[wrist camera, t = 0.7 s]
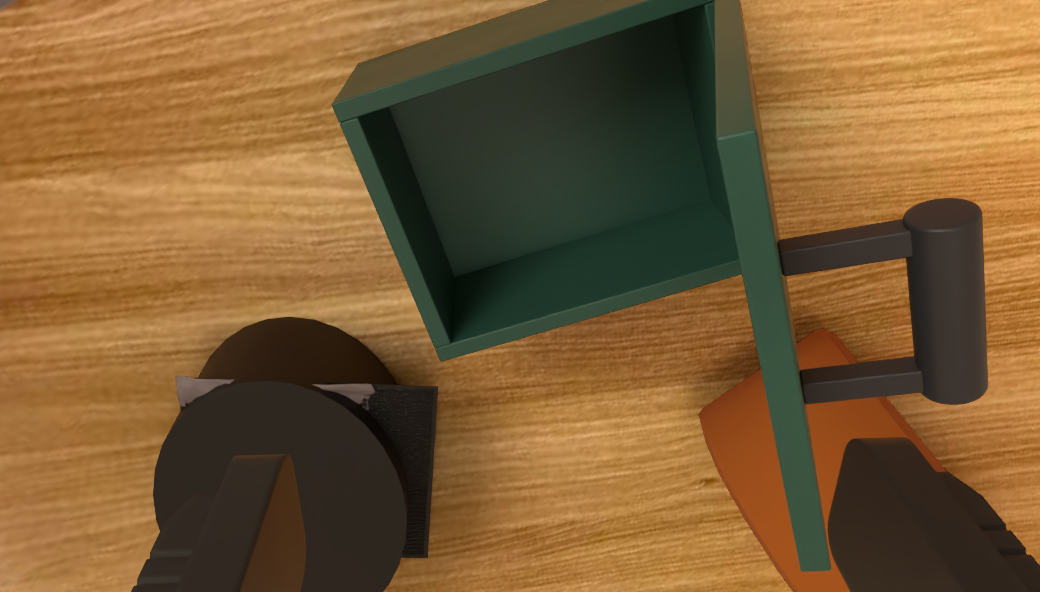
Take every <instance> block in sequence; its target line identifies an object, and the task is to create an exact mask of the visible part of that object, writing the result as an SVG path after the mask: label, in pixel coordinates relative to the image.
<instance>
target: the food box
mask: <svg viewBox="0 0 1040 592" xmlns="http://www.w3.org/2000/svg"><path fill="white" fill-rule="evenodd" d="M332 107H333V109H334V112H335V114H336V116H337V119H338V121H339V122H341V123H340V126H341V128H342V130H343V133H344V135H345V137H346V140H347V142H348V144H349V147H350V149H351V152H352V154H353V156H354V159H355V161H356V163H357V166H358V168H359V170H360V173H361V175H362V178H363V180H364V182H365V185H366V187H367V189H368V192H369V194H370V196H371V199H372V201H373V203H374V206H375V208H376V211H377V213H378V215H379V218H380V220H381V222H382V225H383V227H384V229H385V232H386V234H387V237H388V239H389V241H390V244H391V246H392V248H393V251H394V253H395V255H396V258H397V260H398V262H399V265H400V267H401V270H402V272H403V274H404V277H405V279H406V281H407V284H408V286H409V288H410V291H411V293H412V296H413V298H414V300H415V303H416V305H417V307H418V310H419V312H420V314H421V317H422V319H423V321H424V324H425V326H426V329H427V331H428V333H429V336H430V338H431V340H432V343H433V345H434V347H435V350H436V352H437V354H438V357H439V359H440V361H445V360H449V359H452V358H456V357H459V356H463V355H466V354H469V353H473V352H476V351H480V350H483V349H487V348H490V347H493V346H497V345H500V344H504V343H507V342H511V341H514V340H518V339H521V338H524V337H528V336H531V335H535V334H538V333H542V332H545V331H549V330H552V329H555V328H559V327H562V326H566V325H569V324H573V323H576V322H579V321H583V320H586V319H590V318H593V317H597V316H600V315H604V314H607V313H610V312H614V311H617V310H621V309H624V308H628V307H631V306H634V305H638V304H641V303H645V302H648V301H652V300H655V299H659V298H662V297H665V296H669V295H672V294H676V293H679V292H683V291H686V290H690V289H693V288H696V287H700V286H703V285H707V284H710V283H714V282H717V281H720V280H724V279H727V278H731V277H734V276H738V275H741V274H742V271H741V266H740V261H739V256H738V251H737V246H736V241H735V235H734V230H733V225H732V220H731V215H730V210H729V205H728V200H727V195H726V190H725V184H724V179H723V174H722V169H721V164H720V159H719V154H718V149H717V144H716V105H715V16H714V0H548V1H545V2H542V3H539V4H536V5H533V6H530V7H527V8H524V9H521V10H518V11H515V12H512V13H509V14H506V15H503V16H500V17H497V18H494V19H491V20H488V21H485V22H482V23H479V24H476V25H473V26H470V27H467V28H464V29H461V30H458V31H455V32H452V33H449V34H446V35H443V36H440V37H437V38H434V39H431V40H428V41H425V42H422V43H419V44H416V45H413V46H410V47H407V48H404V49H401V50H398V51H395V52H392V53H389V54H386V55H383V56H380V57H377V58H374V59H371V60H368V61H365V62H362V63H359V64H358V65H357V66H356V68H355V69H354V71H353V73H352V74H351V76H350V77H349V79H348V80H347V82H346V83H345V85H344V86H343V88H342V89H341V91H340V93H339V94H338V96H337V97H336V99H335V100H334V102H333V103H332Z"/></svg>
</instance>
